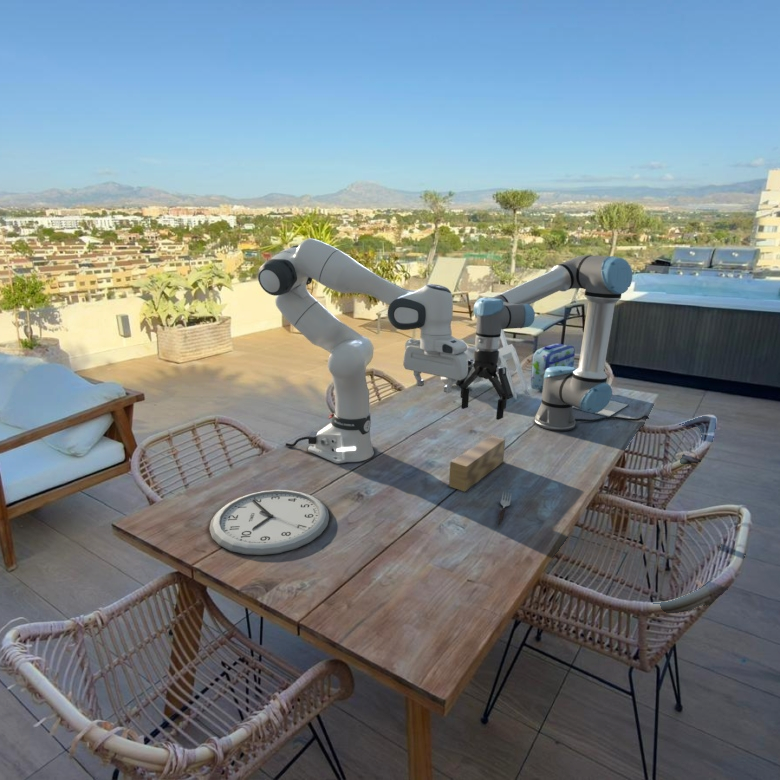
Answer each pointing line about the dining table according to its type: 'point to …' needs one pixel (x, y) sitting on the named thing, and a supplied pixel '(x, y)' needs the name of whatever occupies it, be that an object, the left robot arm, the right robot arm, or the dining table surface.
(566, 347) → the lunch box
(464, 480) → the bar
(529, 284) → the right robot arm
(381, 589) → the dining table surface
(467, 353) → the white plastic object
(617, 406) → the invitation card
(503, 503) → the fork
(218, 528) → the wall clock
